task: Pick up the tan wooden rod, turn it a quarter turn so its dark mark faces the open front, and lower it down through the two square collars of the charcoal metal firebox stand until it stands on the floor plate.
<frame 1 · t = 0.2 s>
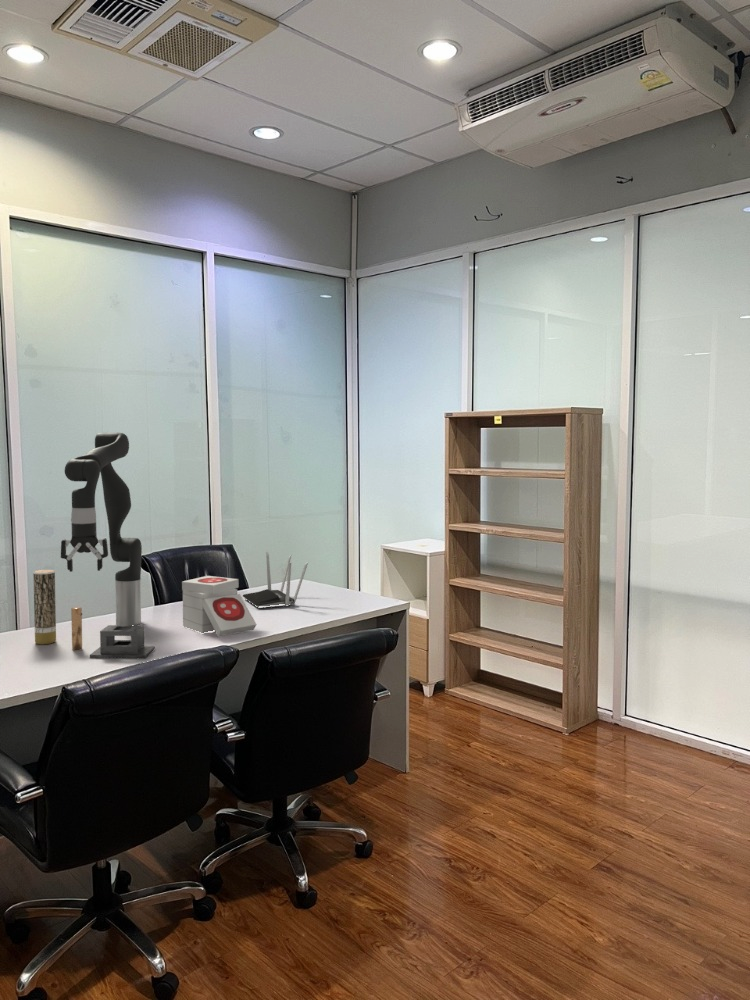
hand: (85, 570, 249), 28 cm above the table, tool pointing down, fingers open, 8 cm apart
bark log: (45, 643, 266), on the table
tan wooden rod: (77, 649, 258), on the table
wireless router: (274, 602, 336), on the table
stack of pizza boxes: (218, 630, 287), on the table
firebox stand: (122, 653, 253), on the table
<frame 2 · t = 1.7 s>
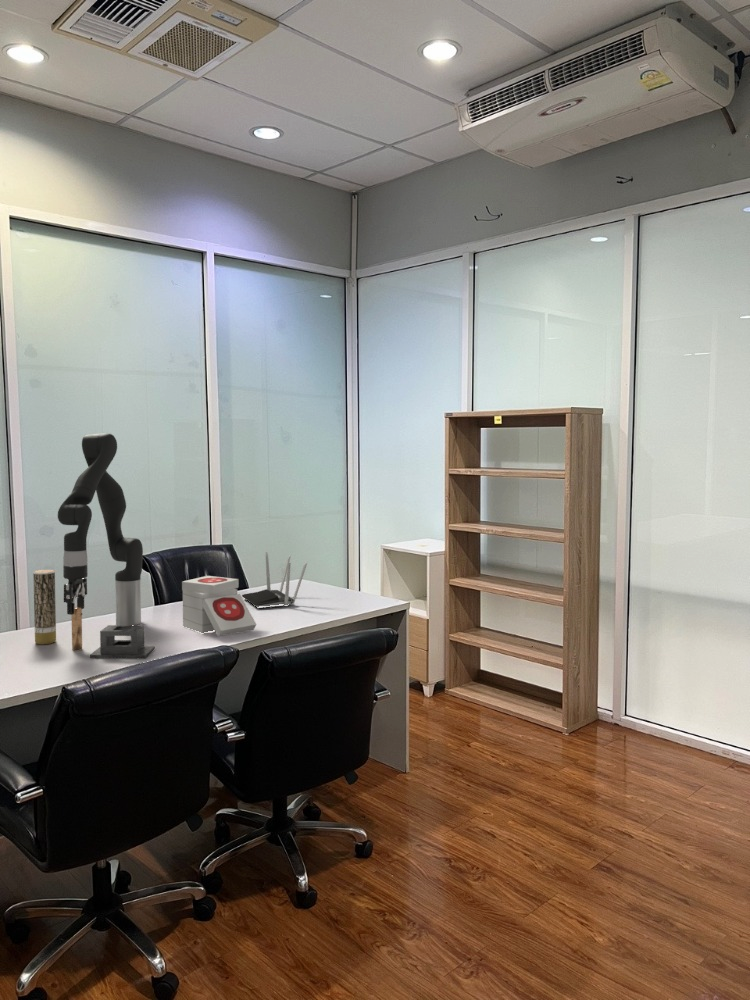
hand: (75, 611, 257), 13 cm above the table, tool pointing down, fingers open, 8 cm apart
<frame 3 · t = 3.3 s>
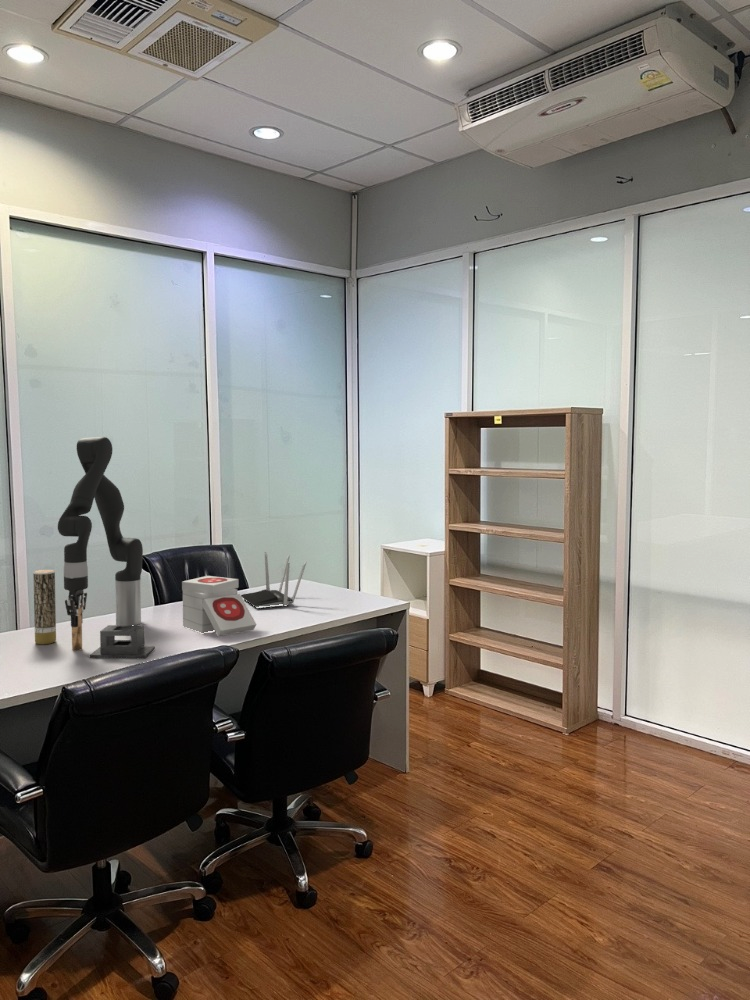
hand: (76, 625, 258), 8 cm above the table, tool pointing down, fingers closed on tan wooden rod, 3 cm apart
tan wooden rod: (77, 649, 258), on the table, touching gripper
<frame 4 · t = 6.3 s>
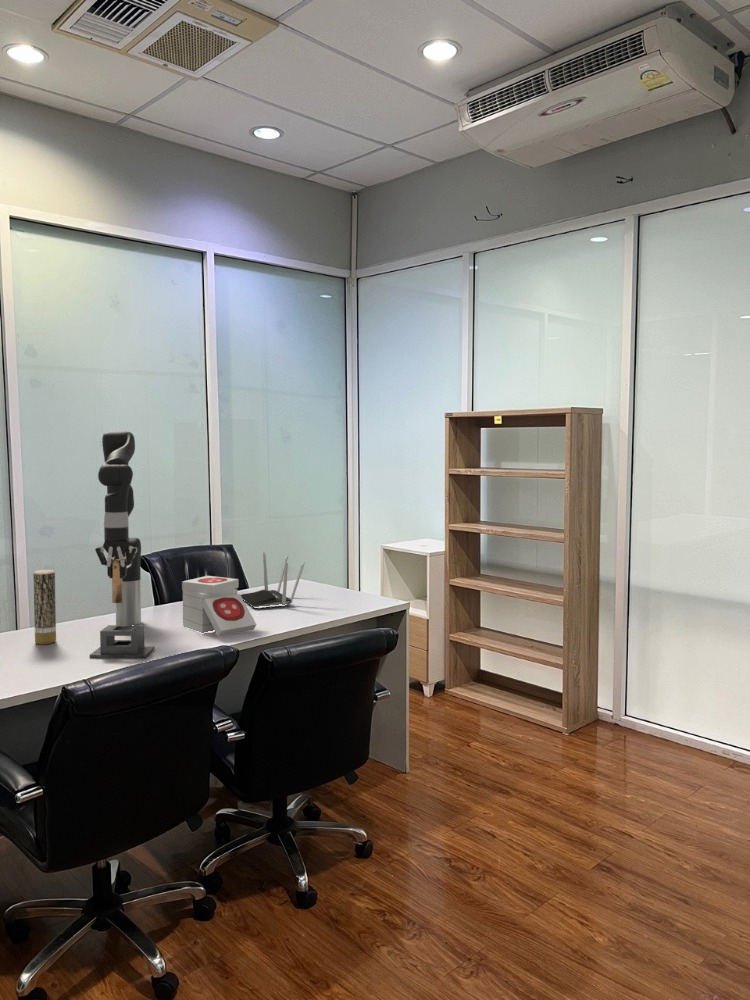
hand: (117, 577, 251), 25 cm above the table, tool pointing down, fingers closed on tan wooden rod, 3 cm apart
tan wooden rod: (117, 602, 252), point 17 cm above the table, touching gripper
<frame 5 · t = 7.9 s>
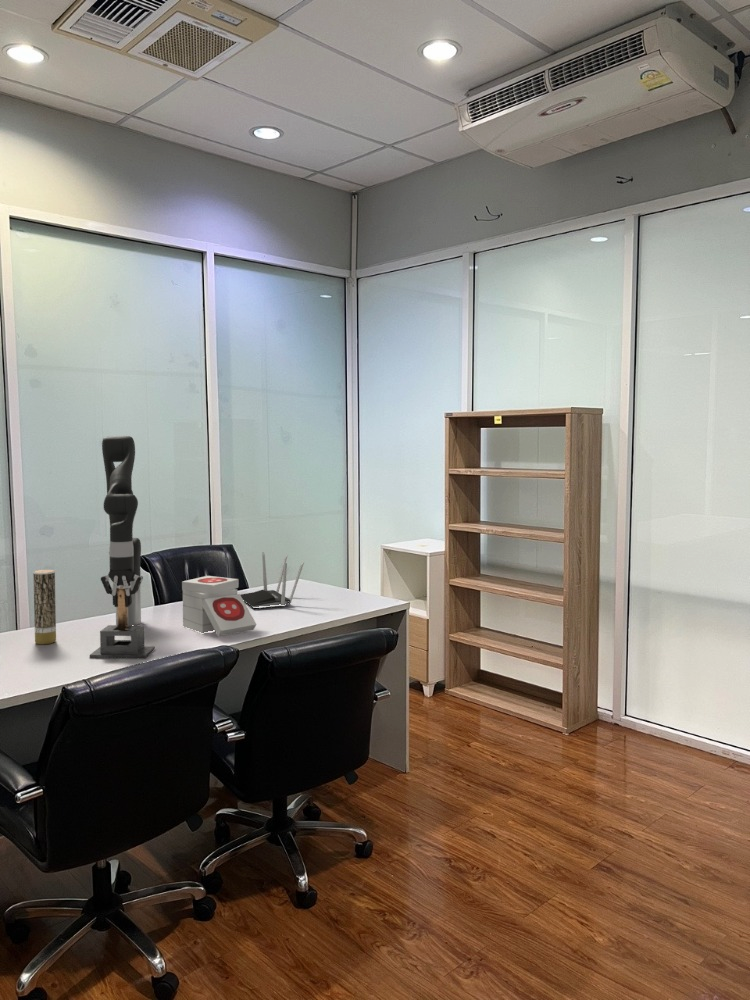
hand: (122, 606, 252), 16 cm above the table, tool pointing down, fingers closed on tan wooden rod, 3 cm apart
tan wooden rod: (122, 630, 253), point 8 cm above the table, touching gripper
when the fingers open (11 cm above the table, at t = 9.2 s): tan wooden rod drops 1 cm, resting on firebox stand.
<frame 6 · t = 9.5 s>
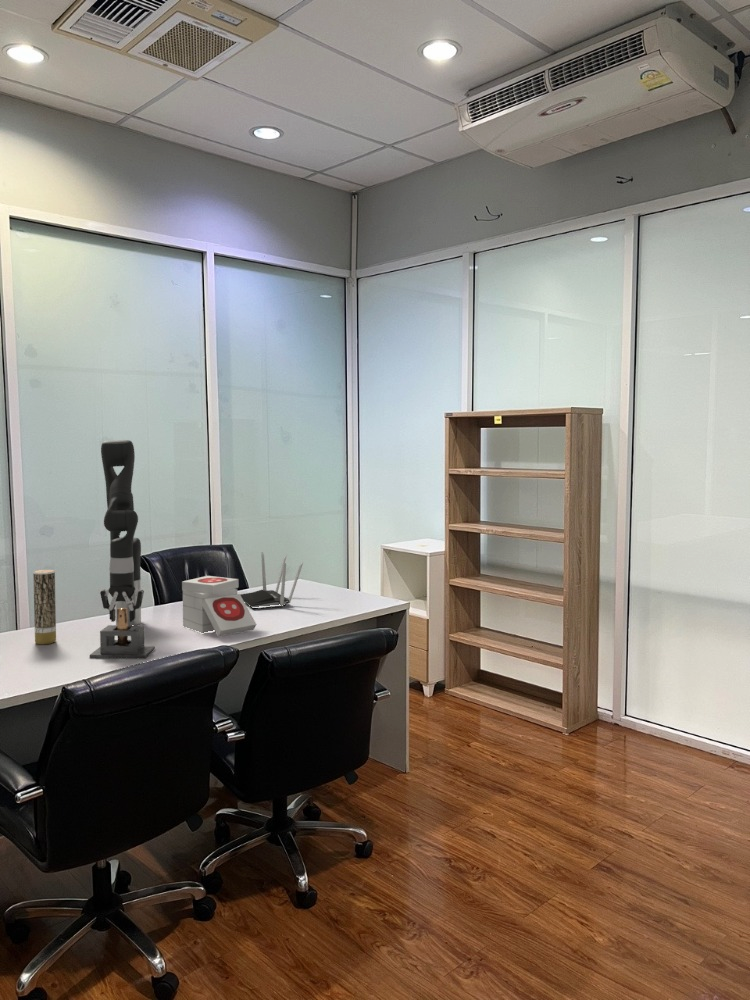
hand: (122, 621, 253), 11 cm above the table, tool pointing down, fingers open, 5 cm apart
tan wooden rod: (122, 650, 253), point 1 cm above the table, touching firebox stand
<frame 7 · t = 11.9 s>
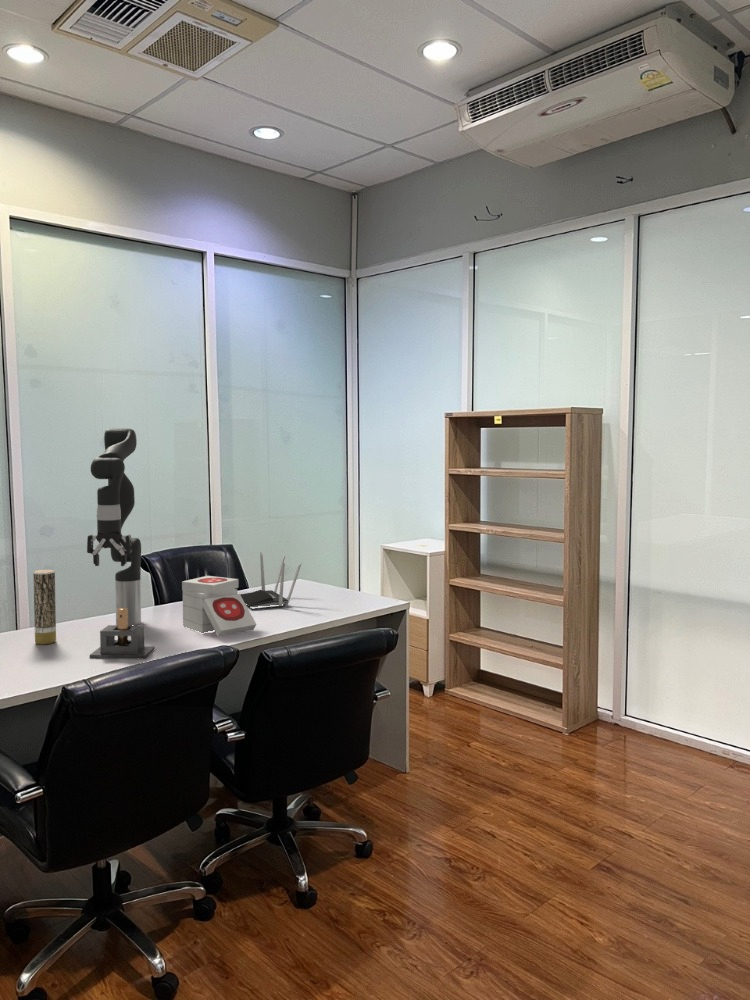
hand: (110, 565, 257), 28 cm above the table, tool pointing down, fingers open, 8 cm apart
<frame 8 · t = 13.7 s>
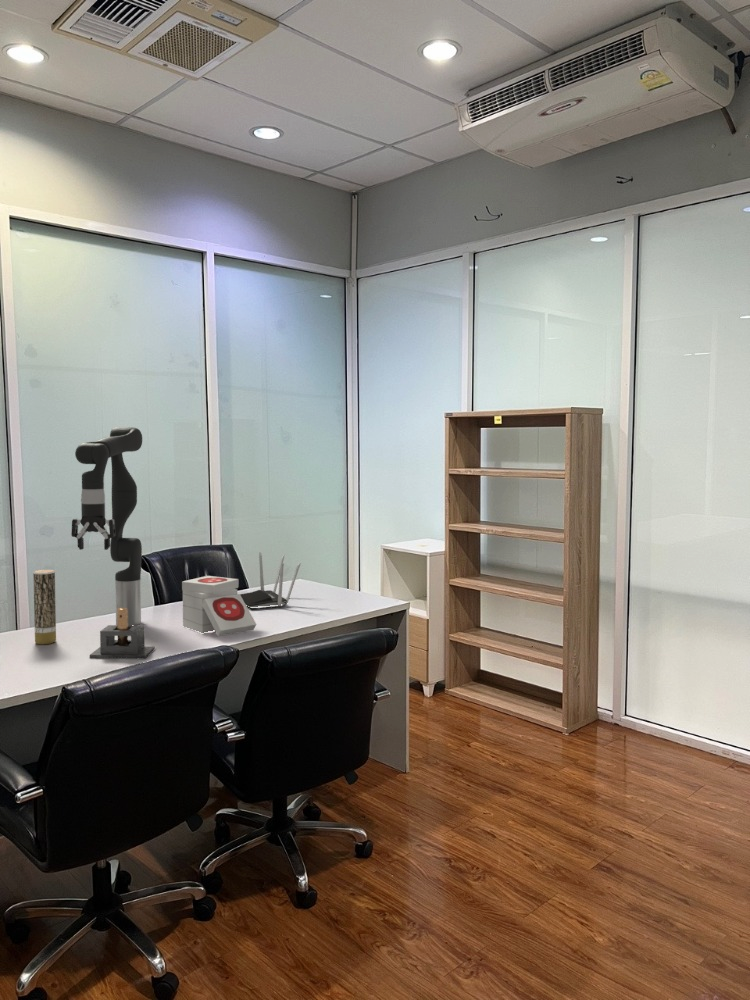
hand: (93, 549, 262), 33 cm above the table, tool pointing down, fingers open, 8 cm apart
at the end: tan wooden rod 0.0 cm off-centre on the firebox stand, point 1.0 cm above the firebox stand's base; tan wooden rod tilted 0°; the gripper is holding nothing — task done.
